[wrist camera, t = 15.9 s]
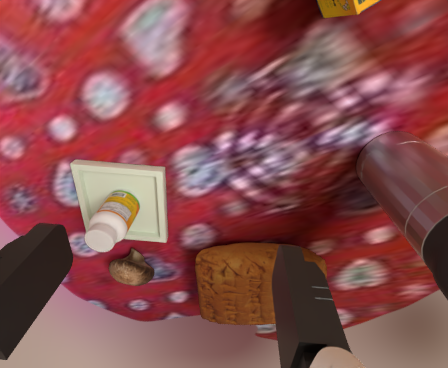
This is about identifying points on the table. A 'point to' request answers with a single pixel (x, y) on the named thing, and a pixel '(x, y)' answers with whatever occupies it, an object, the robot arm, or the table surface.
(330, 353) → the robot arm
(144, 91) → the table surface
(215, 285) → the clay tablet
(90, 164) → the tray
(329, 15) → the supplement box
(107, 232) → the supplement bottle
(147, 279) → the mushroom
